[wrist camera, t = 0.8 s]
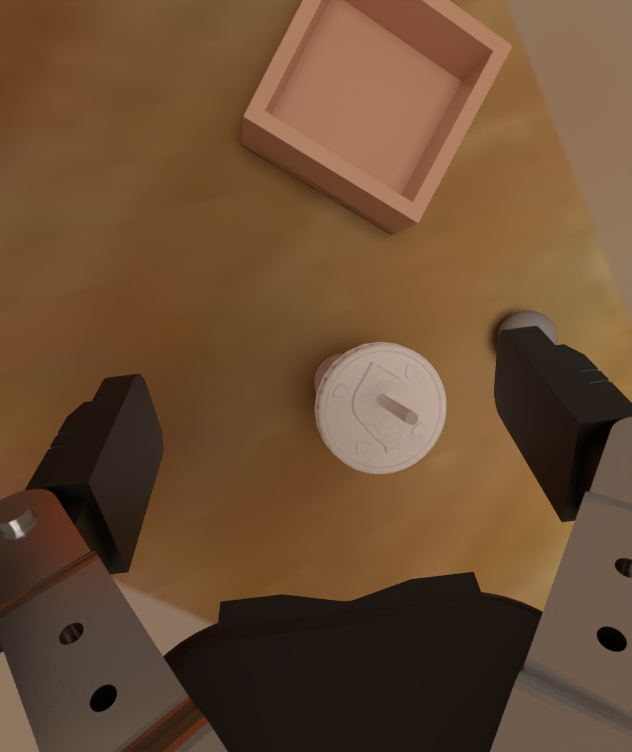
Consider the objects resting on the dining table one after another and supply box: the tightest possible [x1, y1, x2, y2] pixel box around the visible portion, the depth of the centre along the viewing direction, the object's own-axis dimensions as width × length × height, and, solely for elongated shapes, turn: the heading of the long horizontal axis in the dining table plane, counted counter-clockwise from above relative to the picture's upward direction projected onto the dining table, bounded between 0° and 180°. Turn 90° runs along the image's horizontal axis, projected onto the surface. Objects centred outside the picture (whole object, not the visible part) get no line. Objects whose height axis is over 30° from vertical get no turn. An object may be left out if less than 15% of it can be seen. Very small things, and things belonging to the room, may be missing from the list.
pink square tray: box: [241, 0, 512, 235], centre depth 31 cm, size 11×11×5 cm
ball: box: [497, 311, 558, 345], centre depth 35 cm, size 4×4×4 cm
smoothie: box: [314, 342, 446, 474], centre depth 28 cm, size 6×6×14 cm
